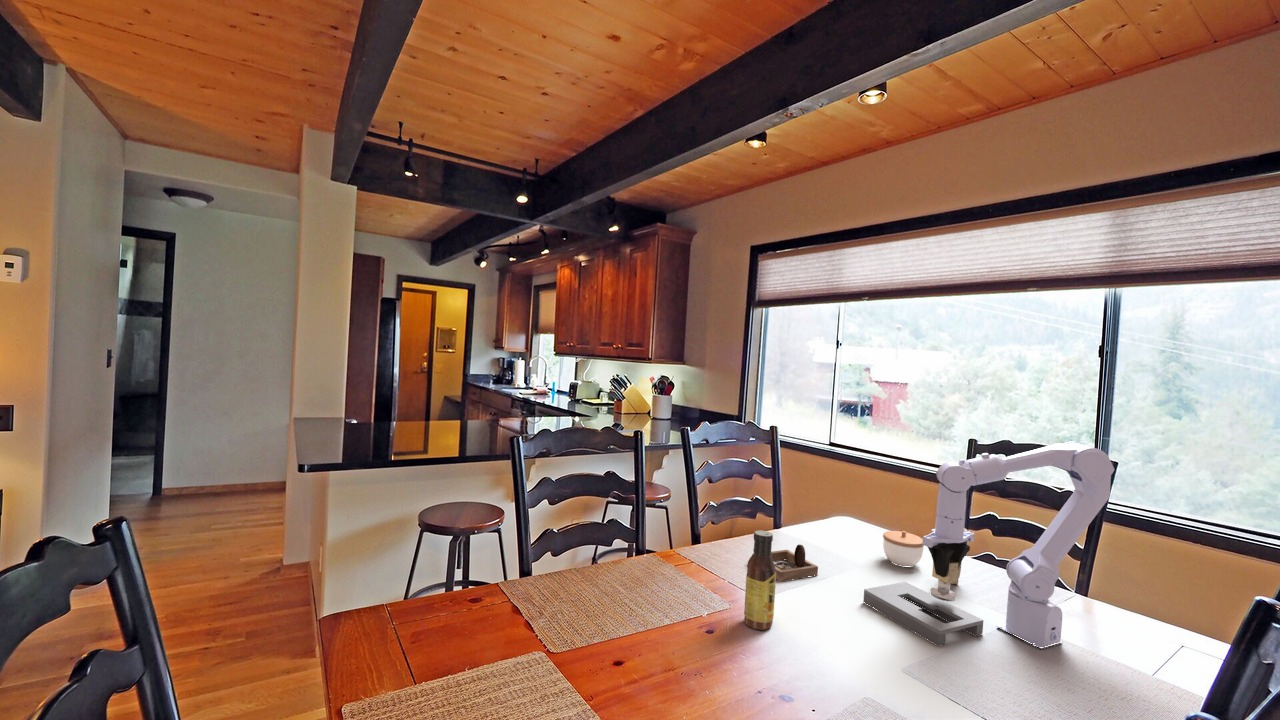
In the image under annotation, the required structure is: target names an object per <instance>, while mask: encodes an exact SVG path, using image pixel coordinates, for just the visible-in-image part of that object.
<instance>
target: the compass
mask: <svg viewBox="0 0 1280 720" xmlns="http://www.w3.org/2000/svg"><path fill="white" fill-rule="evenodd" d="M794 553H795V554H794V561H795V566H794V564H793V563H791V562H786V561H776V562H775V563H774V565H775V567H777V568H779V569H780V570H787V569H793V568H800V567H803V565H804V563H805V560H806V550H805V547H804V545H803V544H797V545H796V546H795V550H794Z"/></svg>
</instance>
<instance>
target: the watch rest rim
mask: <svg viewBox="0 0 1280 720" xmlns="http://www.w3.org/2000/svg"><path fill="white" fill-rule="evenodd" d="M771 552H772V553H771V554H772V558H773V561H775V562H781V561H780V560H782V561H785V560H784V559H787V560H789V561H791V562H792V563H791V562H790V563H791V564H793V563H794V564H795V561H794V554H795V552H792V551H791V550H789V549H782V550H775V551H771ZM752 555H753V553H752V554H751V556H752ZM787 560H786V561H787ZM789 561H788V562H789ZM794 564H793V565H794ZM775 569H776V581H778V582H780V583H782V582H788V581H787V580H789V581H793V580H792V579H795V580H798V579H797V578H801V579H803V578H802V577H807V578H809V577H808V576H813V577H815V576H814V575H817V576H818V572H819V571H818V570H819V566H818V565H816V564H814V563H812V562H811V561H809V560H807V559H805V563H804V565H803V567H800V568H796V567H795V568H793V569H787V570H780V569H779V568H777V567H775Z"/></svg>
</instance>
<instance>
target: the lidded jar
mask: <svg viewBox="0 0 1280 720" xmlns="http://www.w3.org/2000/svg"><path fill="white" fill-rule="evenodd" d="M882 537H883V541H882V544H883V551H884V552H883V553H884V554H885V556H886V558H887V559H888V560H889V562H890V561H891V562H893V563H895V564H897V565H901V566H913V567H914V566H915V565H917V564H918V563H919V562H920V560H921V559H922V557H923V553H924V547H925V545H923V544H922V542H923V537H920V536H919V535H916V534H913V533H911V532H907V531H905V530H902V531H899V530H887V531H885V532H883V535H882ZM891 562H890V563H891Z"/></svg>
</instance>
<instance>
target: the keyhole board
mask: <svg viewBox="0 0 1280 720" xmlns="http://www.w3.org/2000/svg"><path fill="white" fill-rule="evenodd" d="M903 597H904V598H906V599H908V600H910V601H912V602H914V603H916V604H918V605H919V606H921V607H923V608H925V609H926V610H925V609H924V610H925V611H927V610H928V611H927V612H929V611H930V612H929V613H931V612H932V613H931V614H933V613H934V614H936V615H938V616H939V617H938V616H937V617H938V618H940V617H941V618H940V619H942V618H943V619H942V620H944V619H945V620H944V621H946V620H947V621H946V622H947V623H944V622H942V621H940V620H938V619H936V618H934V617H933V616H931V615H929V614H927V613H925V612H923V608H921V607H919V606H917V605H915V604H914V603H912V602H910V601H908V600H906V599H904V598H903ZM863 602H865V603H866V604H868V605H870V606H871V607H874V608H875V609H877V610H878V611H880V612H882V613H883V614H882V613H881V614H882V615H884V614H885V615H886V616H885V615H884V616H885V617H887V618H889V619H890V618H891V620H892V619H893V620H892V621H894V622H896V623H897V622H898V624H899V623H900V625H901V626H902V627H904V626H905V627H904V628H906V629H908V628H909V629H910V631H911V630H912V631H911V632H913V631H914V632H913V633H915V632H916V633H917V635H918V634H919V635H918V636H920V635H921V636H920V637H922V638H923V637H924V638H923V639H925V638H926V639H925V640H927V639H928V640H929V641H928V640H927V641H928V642H930V641H931V642H930V643H932V642H933V643H932V644H934V645H935V644H936V645H935V646H937V645H938V646H937V647H941V645H942V646H944V644H945V645H946V641H947V640H946V639H947V633H948V634H949V633H951V632H956V631H960V630H963V629H964V630H963V631H965V630H966V631H965V632H967V631H968V632H967V633H969V632H970V633H969V634H971V633H972V634H971V635H973V634H974V635H980V634H982V635H983V631H984V619H982V618H980V617H977V616H976V615H974V614H972V613H971V612H968V611H966V610H964V609H962V608H960V607H958V606H956V605H954V604H953V603H951V602H949V601H944V600H940V599H937V598H935V597H933V596H932V595H931V593H930V592H927V591H925V590H923V589H921V588H919V587H917V586H915V585H913V584H911V583H909V582H907V581H901V582H896V583H890V584H885V585H880V586H876V587H869V588H864V591H863ZM865 603H864V604H865ZM866 604H865V605H866ZM868 605H867V606H868ZM870 606H869V607H870ZM871 607H870V608H871ZM875 609H874V610H875ZM877 610H876V611H877ZM878 611H877V612H878ZM880 612H879V613H880ZM934 614H933V615H934ZM936 615H935V616H936ZM948 621H949V622H948ZM909 629H908V630H909ZM916 633H915V634H916ZM974 635H973V636H974ZM980 636H981V635H980Z"/></svg>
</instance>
